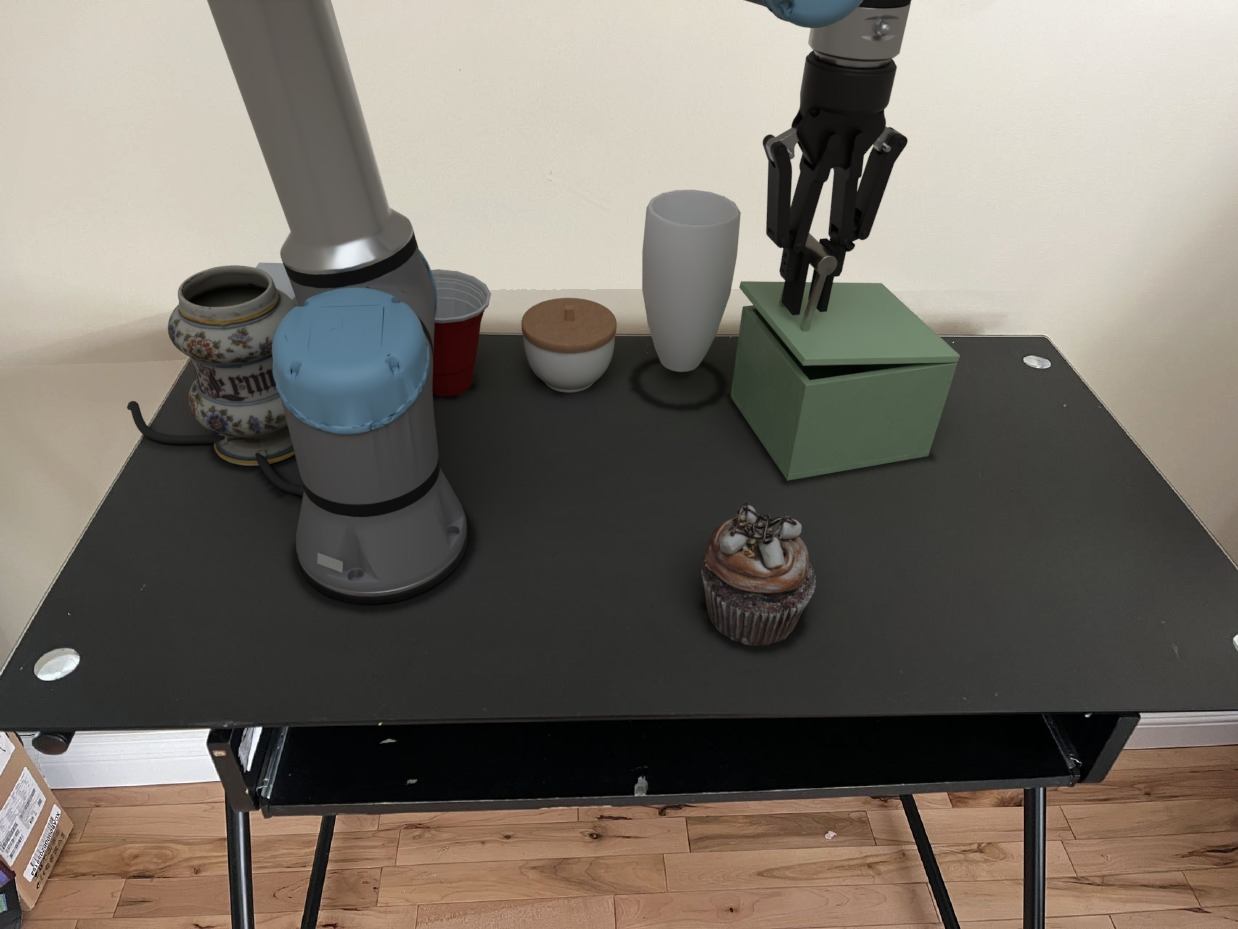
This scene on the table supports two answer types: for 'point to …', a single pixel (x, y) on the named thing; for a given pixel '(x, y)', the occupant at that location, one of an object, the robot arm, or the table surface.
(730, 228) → the cup
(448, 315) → the plastic cup
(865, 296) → the green box lid
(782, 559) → the cupcake
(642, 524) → the table surface
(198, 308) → the apothecary jar
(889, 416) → the green open box
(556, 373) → the white bowl with lid
